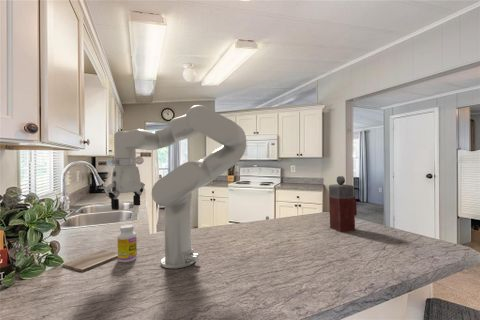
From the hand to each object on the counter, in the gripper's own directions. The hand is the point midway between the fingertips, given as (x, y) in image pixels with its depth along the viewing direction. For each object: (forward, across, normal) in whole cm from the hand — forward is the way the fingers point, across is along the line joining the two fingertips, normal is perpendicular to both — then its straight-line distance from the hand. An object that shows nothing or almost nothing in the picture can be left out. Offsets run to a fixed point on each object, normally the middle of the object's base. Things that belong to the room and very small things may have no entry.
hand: (126, 207), depth 95 cm
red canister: (+21, +75, -73) cm, 107 cm away
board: (+20, -6, +11) cm, 24 cm away
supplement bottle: (+20, 0, 0) cm, 20 cm away
